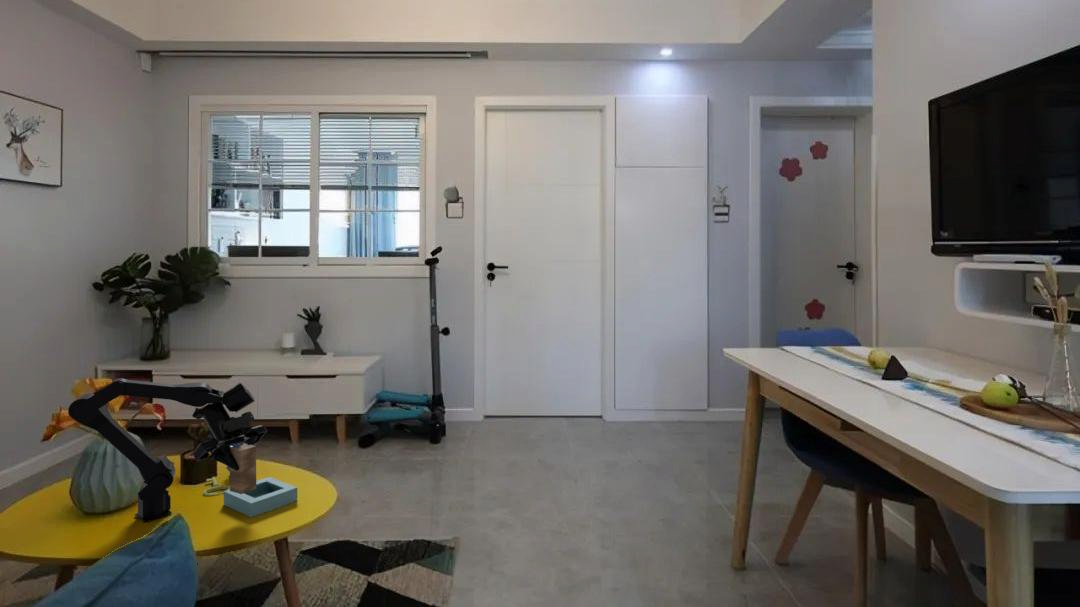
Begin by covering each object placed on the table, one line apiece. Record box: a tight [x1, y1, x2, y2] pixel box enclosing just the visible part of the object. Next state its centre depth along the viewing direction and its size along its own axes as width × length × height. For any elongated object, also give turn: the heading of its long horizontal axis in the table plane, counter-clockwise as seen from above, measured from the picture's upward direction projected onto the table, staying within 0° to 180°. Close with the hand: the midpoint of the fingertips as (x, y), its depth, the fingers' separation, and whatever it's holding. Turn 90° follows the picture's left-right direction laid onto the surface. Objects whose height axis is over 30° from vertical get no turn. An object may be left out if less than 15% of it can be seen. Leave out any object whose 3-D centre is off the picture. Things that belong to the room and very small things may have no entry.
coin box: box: [223, 476, 298, 518], centre depth 161 cm, size 14×14×4 cm
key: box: [203, 476, 230, 497], centre depth 169 cm, size 7×12×2 cm, turn 55°
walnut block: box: [229, 444, 257, 494], centre depth 152 cm, size 5×5×12 cm
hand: (246, 466), depth 151 cm, fingers closed on walnut block, 5 cm apart
